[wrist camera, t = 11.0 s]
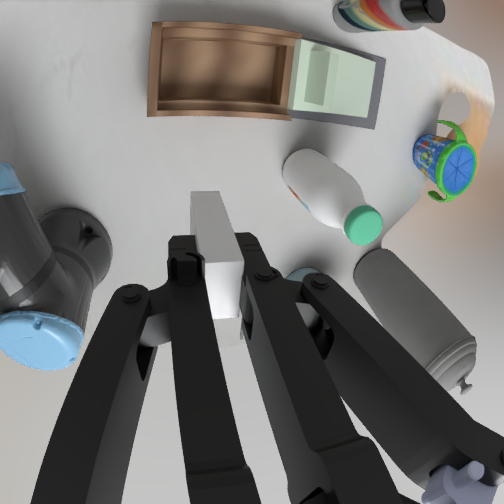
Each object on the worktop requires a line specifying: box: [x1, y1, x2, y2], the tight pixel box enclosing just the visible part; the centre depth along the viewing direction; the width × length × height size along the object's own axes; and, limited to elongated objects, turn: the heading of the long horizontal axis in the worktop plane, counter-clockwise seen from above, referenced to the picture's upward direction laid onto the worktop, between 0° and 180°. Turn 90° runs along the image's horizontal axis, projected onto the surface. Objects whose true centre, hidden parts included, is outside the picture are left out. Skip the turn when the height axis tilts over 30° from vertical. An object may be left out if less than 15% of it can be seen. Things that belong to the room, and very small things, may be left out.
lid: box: [287, 39, 376, 118], centre depth 38 cm, size 16×10×5 cm, turn 84°
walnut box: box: [147, 22, 302, 121], centre depth 35 cm, size 18×12×7 cm, turn 84°
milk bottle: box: [282, 149, 383, 245], centre depth 42 cm, size 8×8×20 cm
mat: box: [288, 38, 386, 130], centre depth 43 cm, size 17×13×1 cm
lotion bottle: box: [333, 0, 445, 33], centre depth 28 cm, size 6×6×20 cm
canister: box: [354, 248, 477, 395], centre depth 52 cm, size 13×13×35 cm
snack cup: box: [413, 120, 477, 202], centre depth 49 cm, size 16×10×10 cm
